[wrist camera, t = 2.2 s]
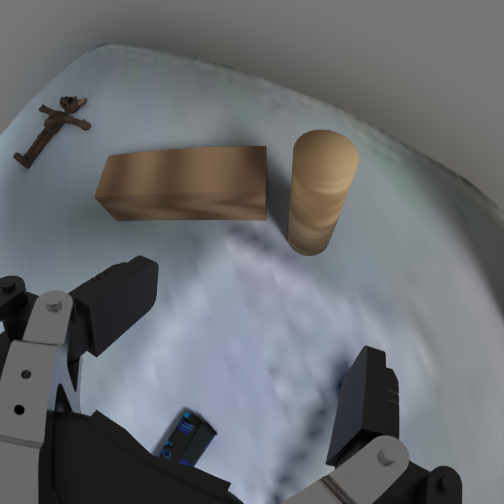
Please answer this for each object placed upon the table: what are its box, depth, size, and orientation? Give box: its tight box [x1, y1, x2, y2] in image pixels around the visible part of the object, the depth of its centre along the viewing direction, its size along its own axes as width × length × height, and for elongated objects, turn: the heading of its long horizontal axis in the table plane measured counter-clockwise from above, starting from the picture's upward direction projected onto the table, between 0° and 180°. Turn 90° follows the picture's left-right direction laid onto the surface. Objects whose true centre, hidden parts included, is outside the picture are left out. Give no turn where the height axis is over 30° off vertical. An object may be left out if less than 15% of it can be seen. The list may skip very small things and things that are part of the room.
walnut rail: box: [95, 146, 268, 221], centre depth 28 cm, size 16×5×5 cm, turn 87°
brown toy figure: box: [14, 96, 90, 169], centre depth 37 cm, size 18×4×14 cm
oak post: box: [287, 130, 359, 256], centre depth 23 cm, size 4×4×12 cm
